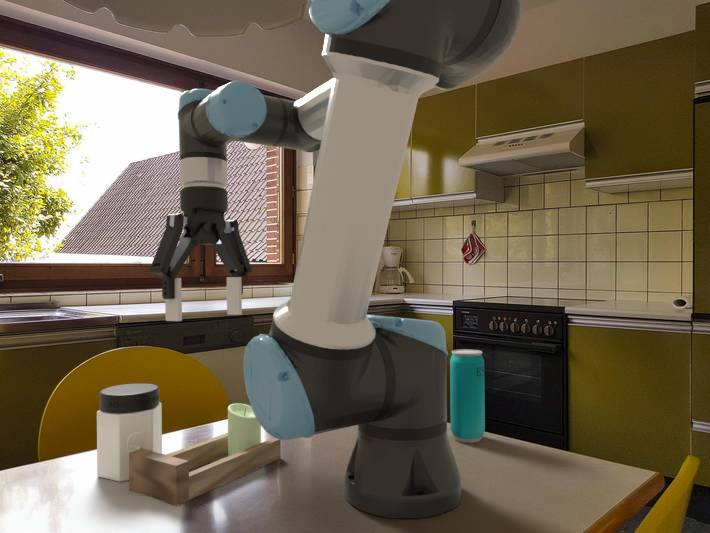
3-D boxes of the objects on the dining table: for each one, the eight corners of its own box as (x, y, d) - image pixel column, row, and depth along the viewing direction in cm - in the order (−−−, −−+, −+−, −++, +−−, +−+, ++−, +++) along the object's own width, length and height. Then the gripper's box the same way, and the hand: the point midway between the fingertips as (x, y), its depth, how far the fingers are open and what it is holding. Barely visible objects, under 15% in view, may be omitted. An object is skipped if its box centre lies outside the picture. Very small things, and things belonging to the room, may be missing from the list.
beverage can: (489, 437, 95) (488, 350, 95) (478, 446, 91) (477, 355, 91) (458, 432, 99) (457, 347, 99) (445, 440, 94) (444, 352, 94)
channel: (280, 458, 86) (280, 426, 86) (176, 505, 69) (176, 465, 69) (236, 447, 91) (236, 417, 91) (129, 490, 74) (129, 452, 74)
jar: (102, 486, 75) (101, 398, 75) (92, 468, 82) (92, 387, 82) (169, 472, 80) (168, 390, 80) (155, 456, 87) (154, 380, 87)
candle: (267, 455, 87) (266, 403, 87) (249, 466, 82) (249, 411, 82) (240, 451, 89) (239, 400, 89) (221, 461, 84) (221, 408, 84)
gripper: (237, 198, 103) (239, 312, 103) (123, 179, 82) (125, 323, 81) (269, 194, 100) (271, 312, 99) (158, 174, 78) (161, 324, 78)
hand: (206, 317), depth 90 cm, fingers open, 13 cm apart
